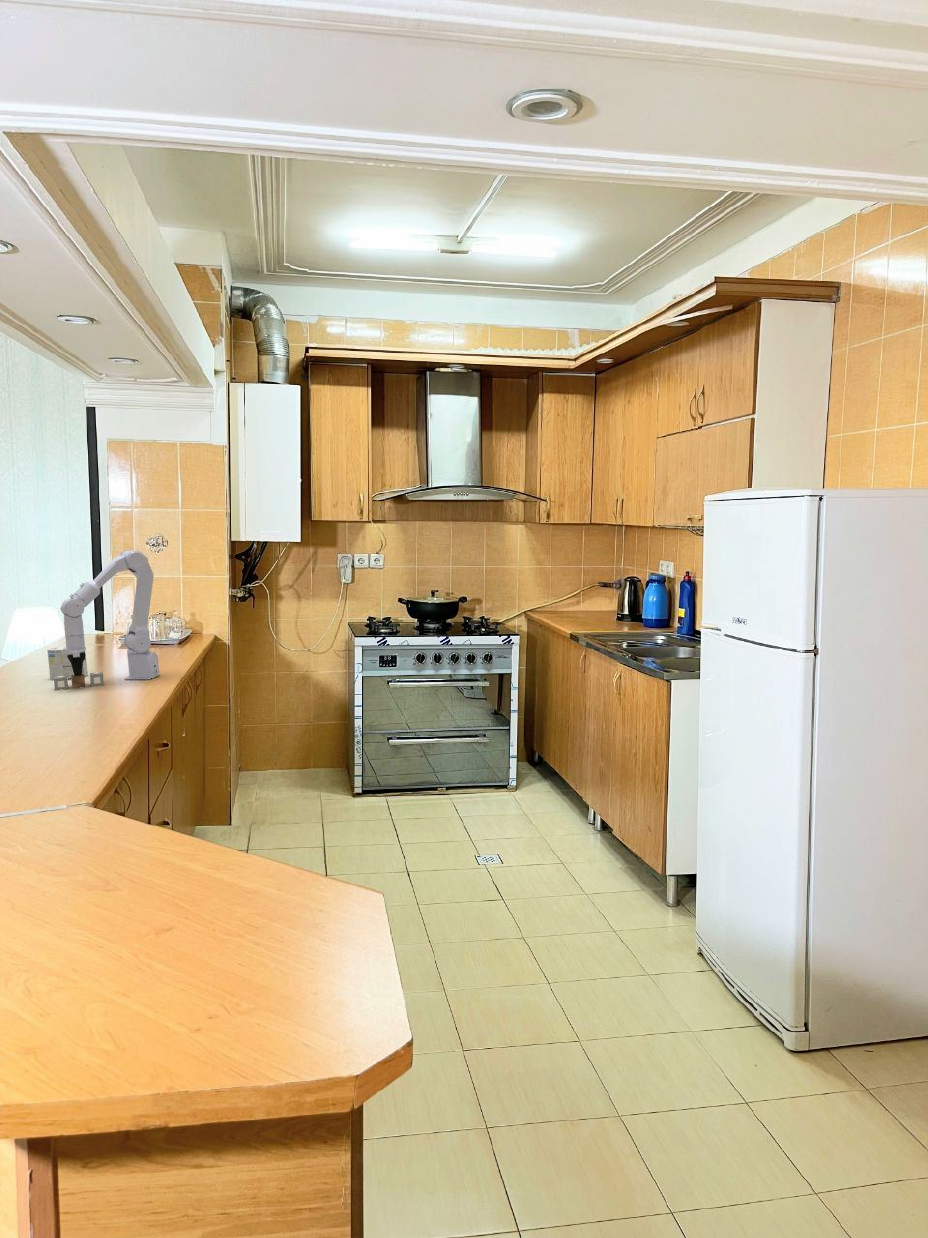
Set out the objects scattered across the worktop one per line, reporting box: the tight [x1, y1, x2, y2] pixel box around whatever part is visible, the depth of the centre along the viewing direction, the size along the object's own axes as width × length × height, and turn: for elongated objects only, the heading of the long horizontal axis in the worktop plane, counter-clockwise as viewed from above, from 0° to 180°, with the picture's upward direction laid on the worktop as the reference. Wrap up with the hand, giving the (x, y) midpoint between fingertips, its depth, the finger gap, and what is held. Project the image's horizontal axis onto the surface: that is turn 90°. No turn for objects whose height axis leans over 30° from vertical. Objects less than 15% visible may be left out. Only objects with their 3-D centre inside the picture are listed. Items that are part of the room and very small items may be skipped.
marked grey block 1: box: [53, 675, 69, 691], centre depth 293 cm, size 4×4×4 cm
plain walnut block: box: [70, 674, 86, 689], centre depth 295 cm, size 4×4×4 cm
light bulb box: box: [47, 646, 89, 680], centre depth 312 cm, size 11×7×11 cm, turn 84°
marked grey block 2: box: [89, 671, 105, 687], centre depth 298 cm, size 4×4×4 cm
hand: (78, 675), depth 295 cm, fingers closed, pressing on plain walnut block
